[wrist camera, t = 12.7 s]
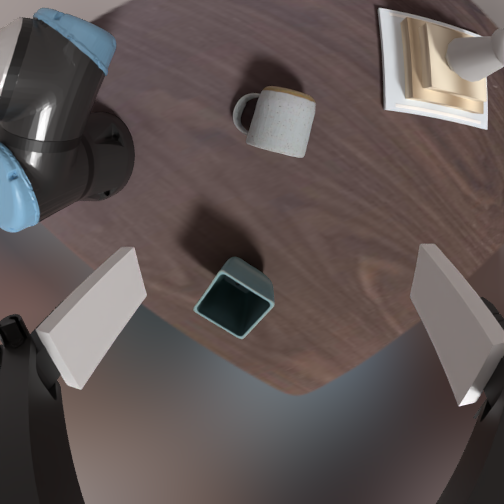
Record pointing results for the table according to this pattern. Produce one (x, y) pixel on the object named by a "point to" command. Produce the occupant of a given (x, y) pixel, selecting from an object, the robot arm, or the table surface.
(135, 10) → the table surface
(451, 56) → the salt shaker
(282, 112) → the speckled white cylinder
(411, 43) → the birch plinth
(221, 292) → the flower pot
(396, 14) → the board
